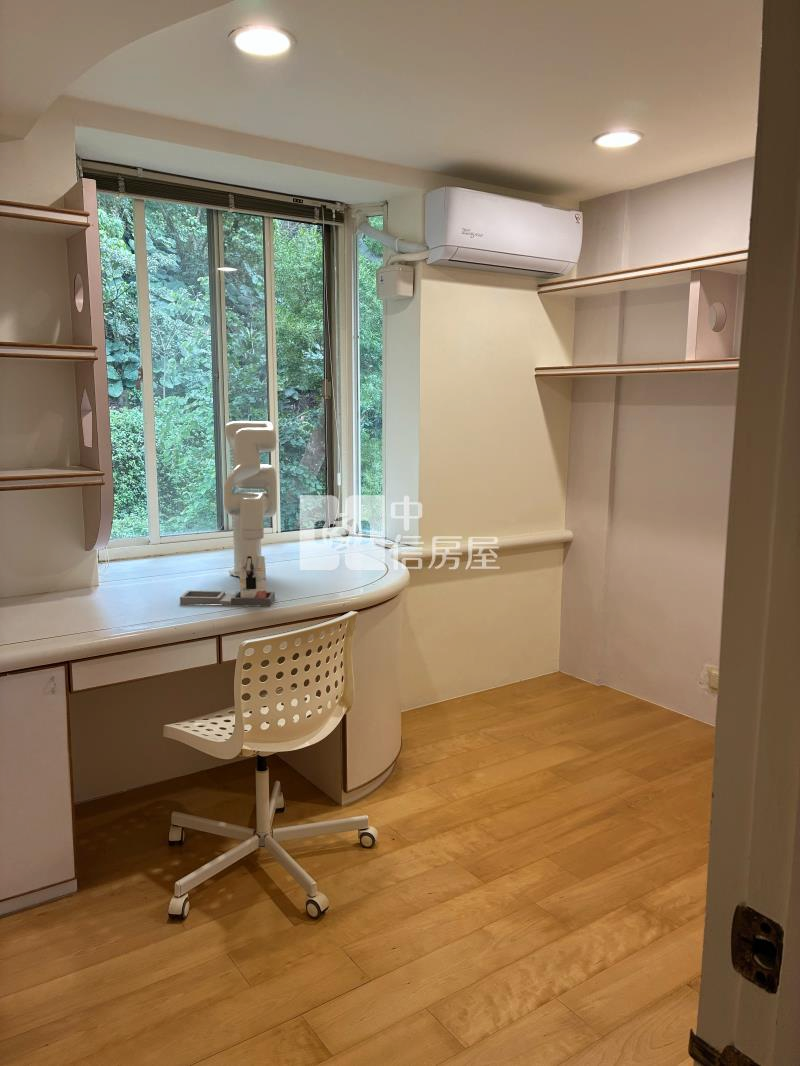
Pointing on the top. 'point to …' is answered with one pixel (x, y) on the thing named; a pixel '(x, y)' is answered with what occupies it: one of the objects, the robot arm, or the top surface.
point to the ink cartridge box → (260, 580)
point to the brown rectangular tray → (201, 597)
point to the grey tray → (247, 599)
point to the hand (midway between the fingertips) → (253, 586)
